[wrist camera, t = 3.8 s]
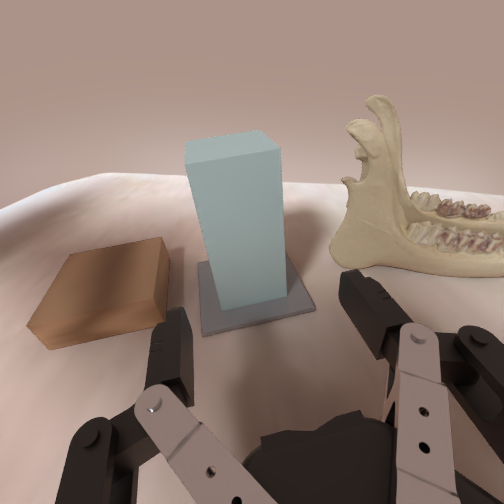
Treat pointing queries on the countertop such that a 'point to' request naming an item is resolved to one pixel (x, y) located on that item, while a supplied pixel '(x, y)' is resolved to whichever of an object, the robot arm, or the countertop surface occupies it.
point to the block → (240, 214)
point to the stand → (104, 294)
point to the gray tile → (250, 314)
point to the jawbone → (409, 214)
